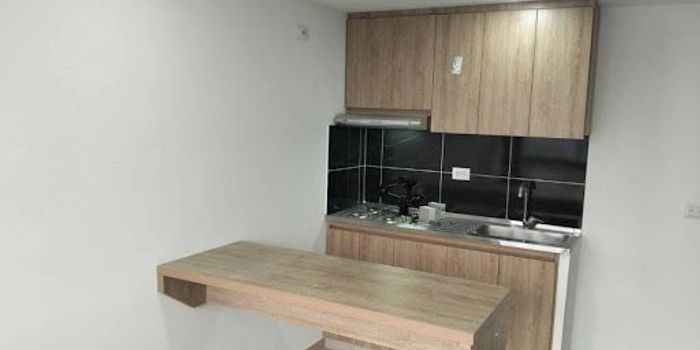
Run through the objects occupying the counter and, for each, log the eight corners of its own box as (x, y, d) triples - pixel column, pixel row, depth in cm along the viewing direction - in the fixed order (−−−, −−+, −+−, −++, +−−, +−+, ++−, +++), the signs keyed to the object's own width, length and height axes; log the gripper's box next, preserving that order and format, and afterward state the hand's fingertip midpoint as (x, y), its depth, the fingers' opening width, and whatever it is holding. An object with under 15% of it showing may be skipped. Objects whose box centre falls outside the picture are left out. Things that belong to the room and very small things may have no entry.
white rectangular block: (418, 219, 374) (419, 206, 372) (424, 218, 377) (425, 206, 376) (428, 222, 367) (429, 209, 366) (434, 221, 371) (435, 208, 369)
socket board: (414, 221, 371) (414, 214, 371) (427, 219, 380) (428, 213, 380) (438, 228, 355) (439, 221, 354) (452, 226, 364) (452, 219, 363)
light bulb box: (444, 218, 388) (445, 204, 387) (440, 220, 382) (441, 205, 381) (430, 216, 394) (432, 201, 392) (426, 217, 388) (428, 202, 387)
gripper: (407, 184, 372) (417, 203, 365) (425, 183, 384) (435, 201, 377) (398, 194, 379) (408, 212, 372) (416, 192, 391) (426, 210, 384)
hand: (419, 209), depth 376 cm, fingers closed
